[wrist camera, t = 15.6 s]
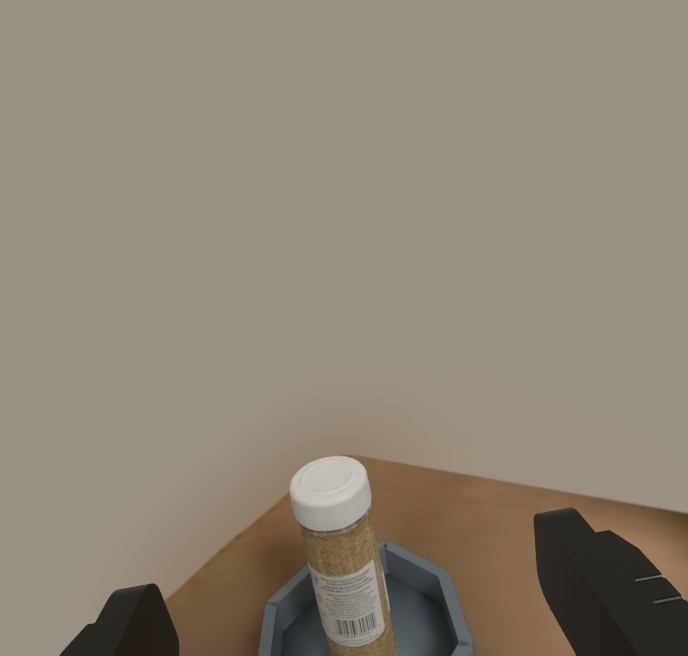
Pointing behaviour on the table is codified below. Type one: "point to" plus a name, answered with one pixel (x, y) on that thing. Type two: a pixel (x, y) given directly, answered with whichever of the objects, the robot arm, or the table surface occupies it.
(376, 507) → the table surface
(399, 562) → the bowl
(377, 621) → the spice jar
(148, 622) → the robot arm
